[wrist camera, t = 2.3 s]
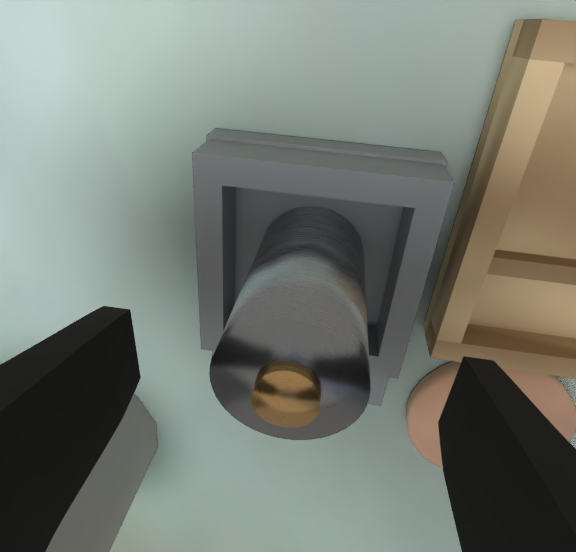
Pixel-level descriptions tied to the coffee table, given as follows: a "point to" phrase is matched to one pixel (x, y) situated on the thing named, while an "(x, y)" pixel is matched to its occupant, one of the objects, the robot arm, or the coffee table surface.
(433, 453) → the dish
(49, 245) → the coffee table surface
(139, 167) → the coffee table surface
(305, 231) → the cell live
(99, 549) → the cup
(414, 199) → the cradle
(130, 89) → the coffee table surface
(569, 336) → the tray
